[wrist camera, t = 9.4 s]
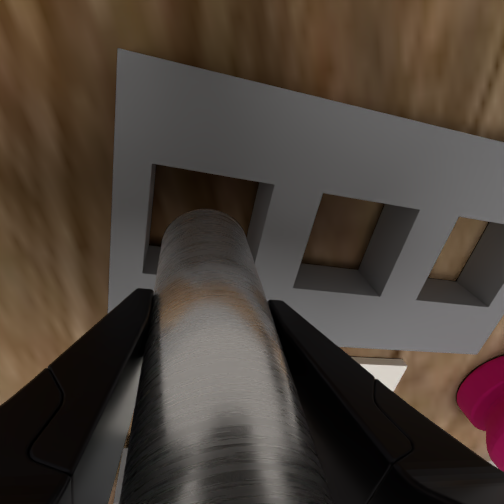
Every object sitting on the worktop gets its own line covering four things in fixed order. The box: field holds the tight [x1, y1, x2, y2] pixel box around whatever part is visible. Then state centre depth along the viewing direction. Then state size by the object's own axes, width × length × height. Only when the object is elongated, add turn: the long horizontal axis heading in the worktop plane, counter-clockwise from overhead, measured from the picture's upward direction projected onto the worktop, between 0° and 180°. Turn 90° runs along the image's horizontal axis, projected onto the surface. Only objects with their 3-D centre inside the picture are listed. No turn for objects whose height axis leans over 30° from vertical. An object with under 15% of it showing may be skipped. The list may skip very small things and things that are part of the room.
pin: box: [119, 209, 334, 504], centre depth 8 cm, size 3×3×9 cm
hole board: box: [108, 48, 504, 354], centre depth 16 cm, size 20×11×2 cm, turn 78°
